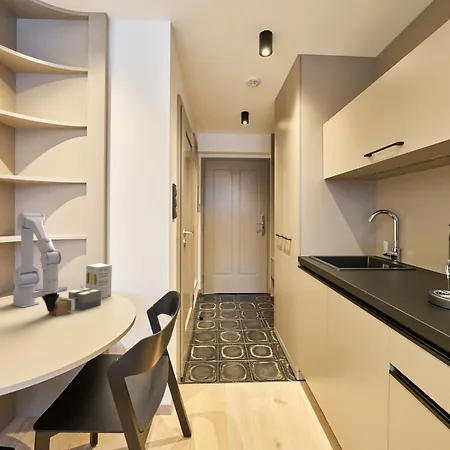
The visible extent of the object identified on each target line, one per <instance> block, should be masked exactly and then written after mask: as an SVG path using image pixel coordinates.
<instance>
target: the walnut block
mask: <svg viewBox="0 0 450 450" xmlns="http://www.w3.org/2000/svg"><path fill="white" fill-rule="evenodd" d="M65 314H69V310H68V301H63V300H57V301H56V303H55V305H54V309H53V311H52V312H49V311H48V315H52V316H56V317H57V316H63V315H65Z"/></svg>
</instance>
